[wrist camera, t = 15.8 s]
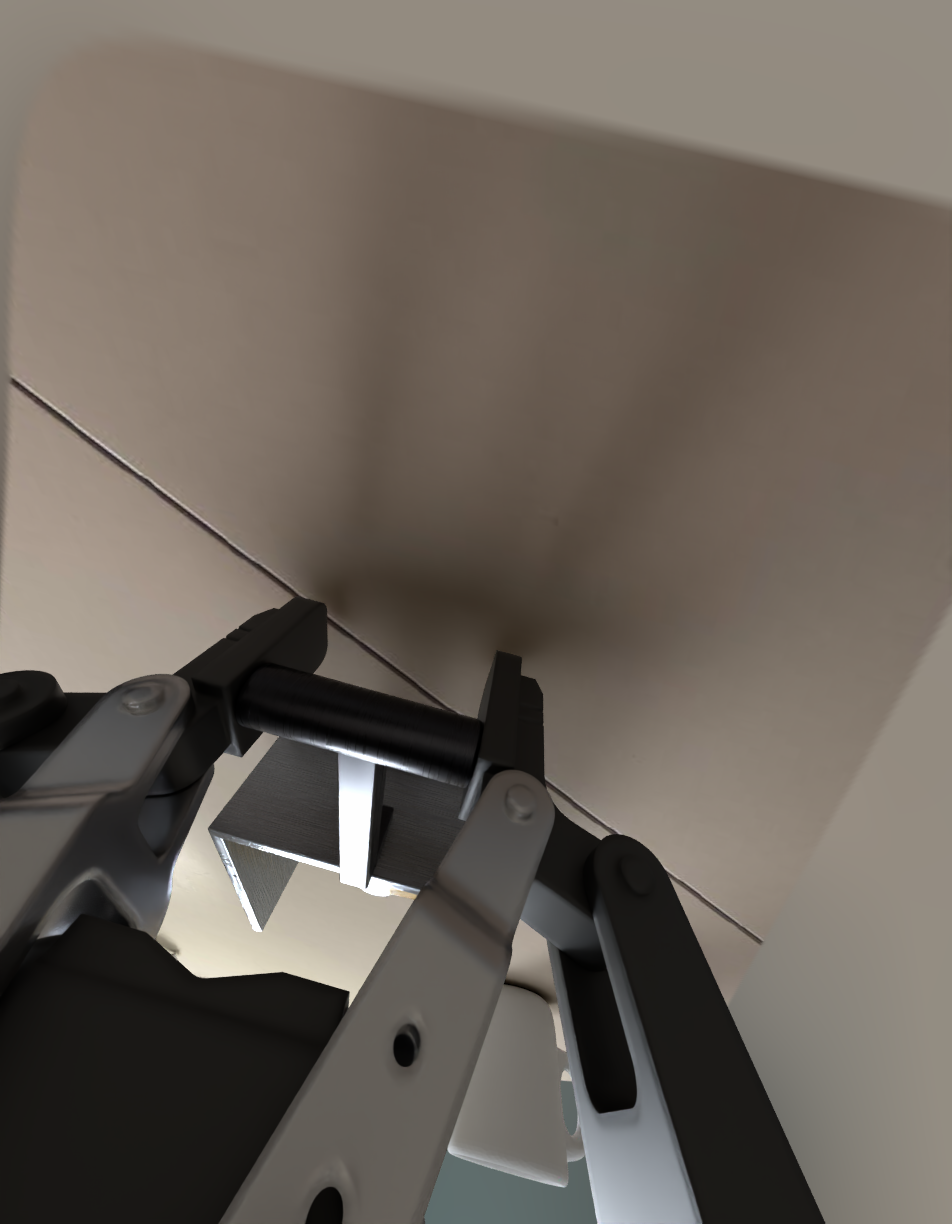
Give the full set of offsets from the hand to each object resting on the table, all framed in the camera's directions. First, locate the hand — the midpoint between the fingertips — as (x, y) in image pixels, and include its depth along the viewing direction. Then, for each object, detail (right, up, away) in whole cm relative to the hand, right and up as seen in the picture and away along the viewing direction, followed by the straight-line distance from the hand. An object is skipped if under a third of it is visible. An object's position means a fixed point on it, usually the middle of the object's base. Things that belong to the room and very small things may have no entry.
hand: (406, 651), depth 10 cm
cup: (+7, -32, +19) cm, 38 cm away
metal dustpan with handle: (-2, -7, +6) cm, 9 cm away
